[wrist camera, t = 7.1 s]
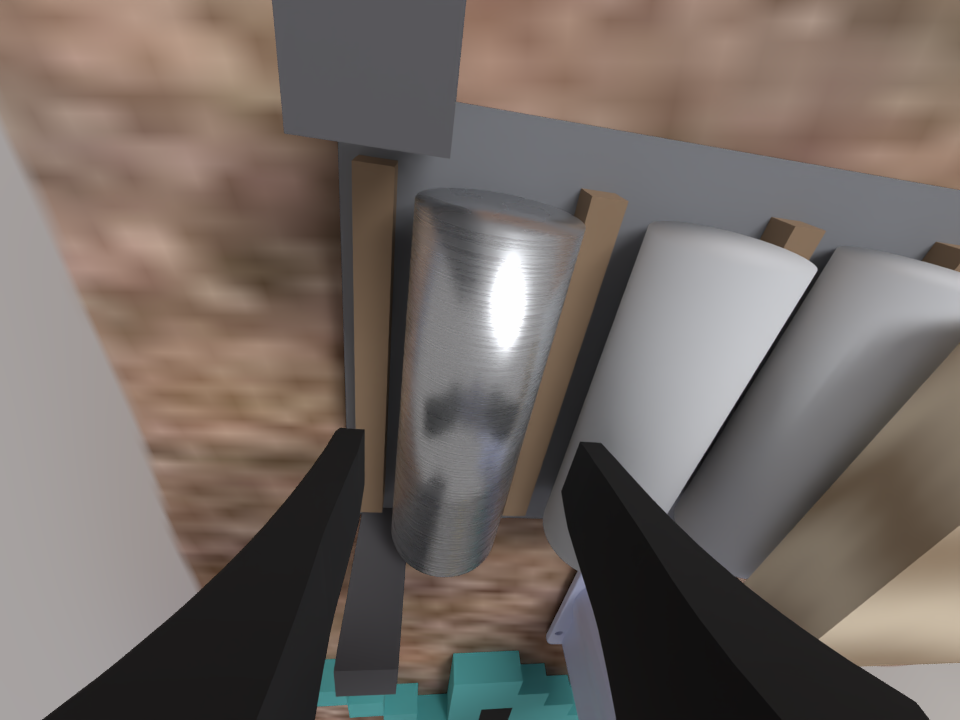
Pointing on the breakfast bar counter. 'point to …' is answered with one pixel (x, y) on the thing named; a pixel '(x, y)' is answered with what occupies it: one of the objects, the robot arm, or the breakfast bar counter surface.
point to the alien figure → (468, 693)
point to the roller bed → (620, 299)
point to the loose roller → (473, 364)
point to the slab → (883, 542)
